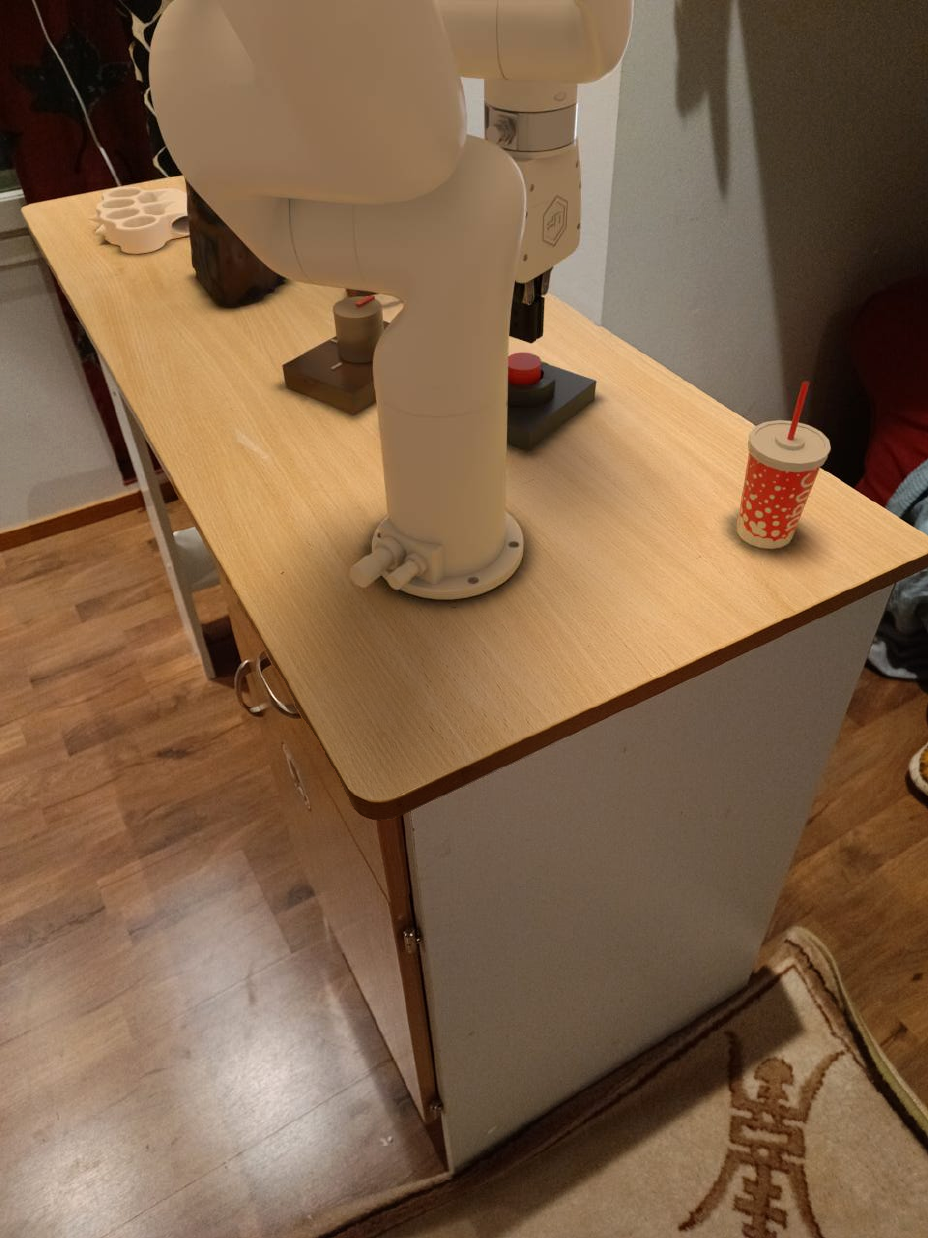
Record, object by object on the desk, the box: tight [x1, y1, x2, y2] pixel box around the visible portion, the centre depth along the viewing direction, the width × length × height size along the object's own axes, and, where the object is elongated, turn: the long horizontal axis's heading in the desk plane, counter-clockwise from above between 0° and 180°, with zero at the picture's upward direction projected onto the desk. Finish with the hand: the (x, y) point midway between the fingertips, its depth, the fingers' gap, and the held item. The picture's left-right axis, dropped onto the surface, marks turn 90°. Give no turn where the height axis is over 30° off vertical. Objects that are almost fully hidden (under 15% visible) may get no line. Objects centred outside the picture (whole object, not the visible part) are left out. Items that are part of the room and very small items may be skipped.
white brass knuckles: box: [88, 186, 190, 255], centre depth 125 cm, size 3×18×15 cm
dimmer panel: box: [281, 320, 390, 416], centre depth 94 cm, size 14×10×3 cm
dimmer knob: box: [332, 295, 384, 363], centre depth 91 cm, size 5×5×5 cm
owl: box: [183, 176, 286, 309], centre depth 104 cm, size 13×13×20 cm
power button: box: [508, 351, 542, 385], centre depth 86 cm, size 4×4×2 cm
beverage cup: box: [736, 380, 832, 550], centre depth 69 cm, size 6×6×14 cm
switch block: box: [507, 360, 597, 453], centre depth 88 cm, size 12×10×4 cm
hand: (524, 335), depth 84 cm, fingers closed
